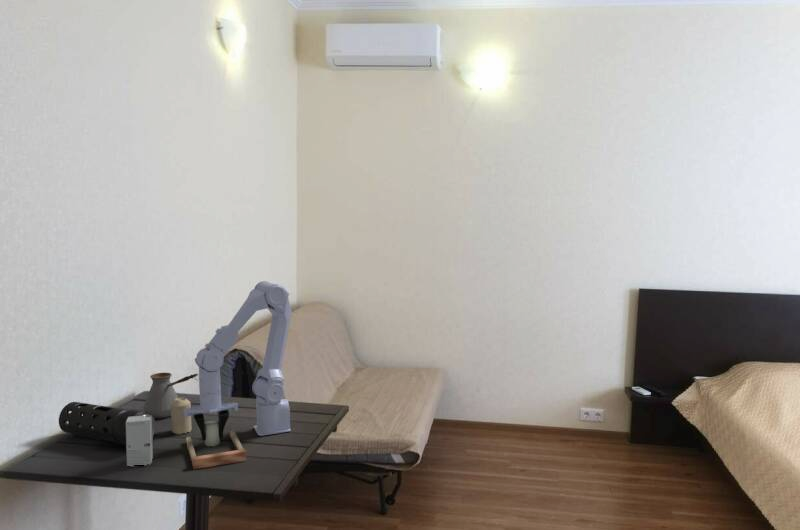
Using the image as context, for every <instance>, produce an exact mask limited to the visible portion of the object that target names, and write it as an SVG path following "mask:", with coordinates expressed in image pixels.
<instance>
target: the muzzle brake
mask: <svg viewBox="0 0 800 530" xmlns="http://www.w3.org/2000/svg"><path fill="white" fill-rule="evenodd" d="M133 416H150V415H149V414H148V413H146V412H145V411H144V410H138V409H130V410H129V409H125V408H118V407H111V406H106V405H98V404H92V403H86V402H80V401H79V402H78V401H71V402H68V403H67V404H65V405H64V407H63V408H62V409H61V411H60V413H59V416H58V426H59V428H60V430H61V431H62V432H64V433H67V434H71V436H73V437H78V438H84V439H89V440H95V441H96V440H99V441H101V442H103V441H105V440H106V441H110V442H116V443H117V445H119V446H123V445H124V447H126V421H127V419H128V417H133ZM156 427H157V424H156V421H155V418H153V417H152V438H153V437H154V435H155V433H156Z"/></svg>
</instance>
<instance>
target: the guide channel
mask: <svg viewBox="0 0 800 530" xmlns="http://www.w3.org/2000/svg"><path fill="white" fill-rule="evenodd" d="M229 436H230V439H231V441H232V443H233V445H234V447H236V448H235V450H230V451H223V452H217V453H209V454H204V455H203V454H202V455H197V454H196V451H195V448H194V444H193V440H192V437H191V436H187V437H185V443H187V444H186V447H187V450H189V451H188V454H189V458H190V461H192V462H191V464H192V468H193V470H198V469H205V468H210V467H211V468H212V467H217V466H221V465H228V464H233V463H234V464H235V463H241V462H246V461H247V458H248V457H247V450H246V448H244V447H243V445H242V443H241V442H240V440H239V437H238V435H237V434H236V432H235V430H230V431H229ZM236 449H237V450H236Z"/></svg>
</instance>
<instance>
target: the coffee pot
mask: <svg viewBox="0 0 800 530" xmlns="http://www.w3.org/2000/svg"><path fill="white" fill-rule="evenodd" d="M172 376H173V375H172V373H170V372H159V373H158V372H157V373H153V374H151V375H150V379H151V380H152V383H151V386H150V389H149V391H148V394H147V396H146V399H145V401H144V405H143V411H144V412H146V413H148V414H149V415H151V416H152V417H153V418H154V419H164V418H169V417H170V418H171V403H172V402H173V401H174V400H175V399H176V398H177V399H178V398H179V396H178V394H177V392H176V390H175V388H174V385H177V384H181V383H184V382H187V381H189V380H190V379H194V380H195V381H198V379H197V378H196V377H197V376H199V373H194V374H189V375H188V376H184V377H182V378H181V379H178V380H175V381H173V382H171V377H172Z"/></svg>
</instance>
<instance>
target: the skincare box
mask: <svg viewBox="0 0 800 530" xmlns="http://www.w3.org/2000/svg"><path fill="white" fill-rule="evenodd" d="M153 444H154V443H153V437H152V416H151V415H150V416H133V417H128V419H127V421H126V446H125V448H126V449H125V450H126V467H127V466H130V467H135V466H134V465H144V466H151V464H152V462H153V460H152V459H154V448H153V446H154V445H153ZM147 464H149V465H147Z"/></svg>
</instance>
